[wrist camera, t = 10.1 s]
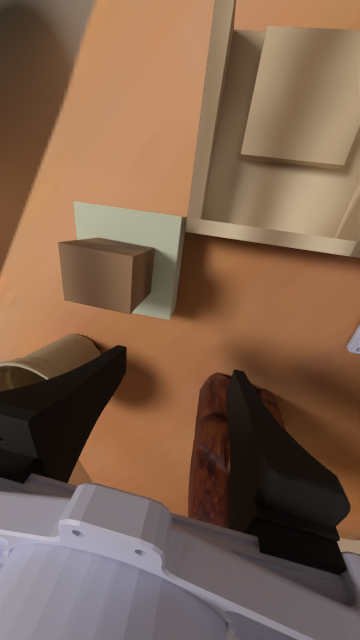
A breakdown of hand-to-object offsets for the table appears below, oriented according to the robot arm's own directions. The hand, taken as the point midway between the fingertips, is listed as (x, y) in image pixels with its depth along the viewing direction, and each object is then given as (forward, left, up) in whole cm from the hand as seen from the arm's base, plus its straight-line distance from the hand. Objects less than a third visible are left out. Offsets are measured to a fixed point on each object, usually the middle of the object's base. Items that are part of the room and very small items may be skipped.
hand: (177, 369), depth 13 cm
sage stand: (+6, -5, -10) cm, 13 cm away
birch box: (-5, -14, -10) cm, 18 cm away
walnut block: (+6, -5, -7) cm, 10 cm away
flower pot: (+14, +9, -10) cm, 20 cm away
